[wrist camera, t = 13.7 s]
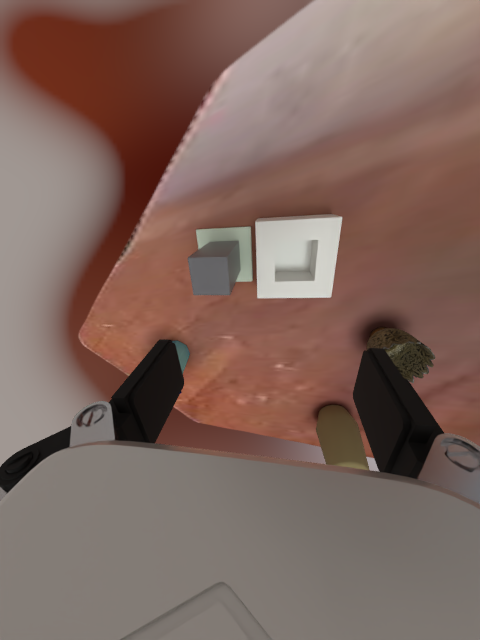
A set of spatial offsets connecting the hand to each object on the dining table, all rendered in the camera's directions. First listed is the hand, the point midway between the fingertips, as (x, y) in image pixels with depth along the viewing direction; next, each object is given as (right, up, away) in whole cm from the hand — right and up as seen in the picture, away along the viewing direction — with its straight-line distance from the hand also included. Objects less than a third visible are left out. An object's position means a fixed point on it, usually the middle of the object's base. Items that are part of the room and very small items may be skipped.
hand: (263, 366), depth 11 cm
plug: (-3, +12, +23) cm, 26 cm away
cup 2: (+22, 0, +27) cm, 35 cm away
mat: (-3, +12, +23) cm, 26 cm away
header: (+7, +12, +22) cm, 26 cm away
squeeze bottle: (+19, -18, +37) cm, 45 cm away
